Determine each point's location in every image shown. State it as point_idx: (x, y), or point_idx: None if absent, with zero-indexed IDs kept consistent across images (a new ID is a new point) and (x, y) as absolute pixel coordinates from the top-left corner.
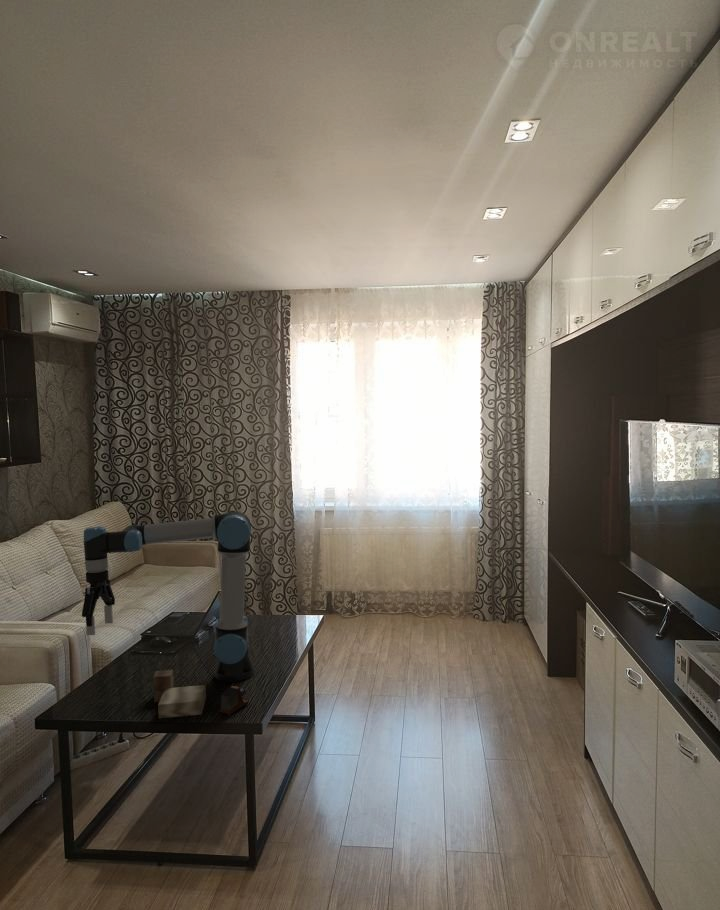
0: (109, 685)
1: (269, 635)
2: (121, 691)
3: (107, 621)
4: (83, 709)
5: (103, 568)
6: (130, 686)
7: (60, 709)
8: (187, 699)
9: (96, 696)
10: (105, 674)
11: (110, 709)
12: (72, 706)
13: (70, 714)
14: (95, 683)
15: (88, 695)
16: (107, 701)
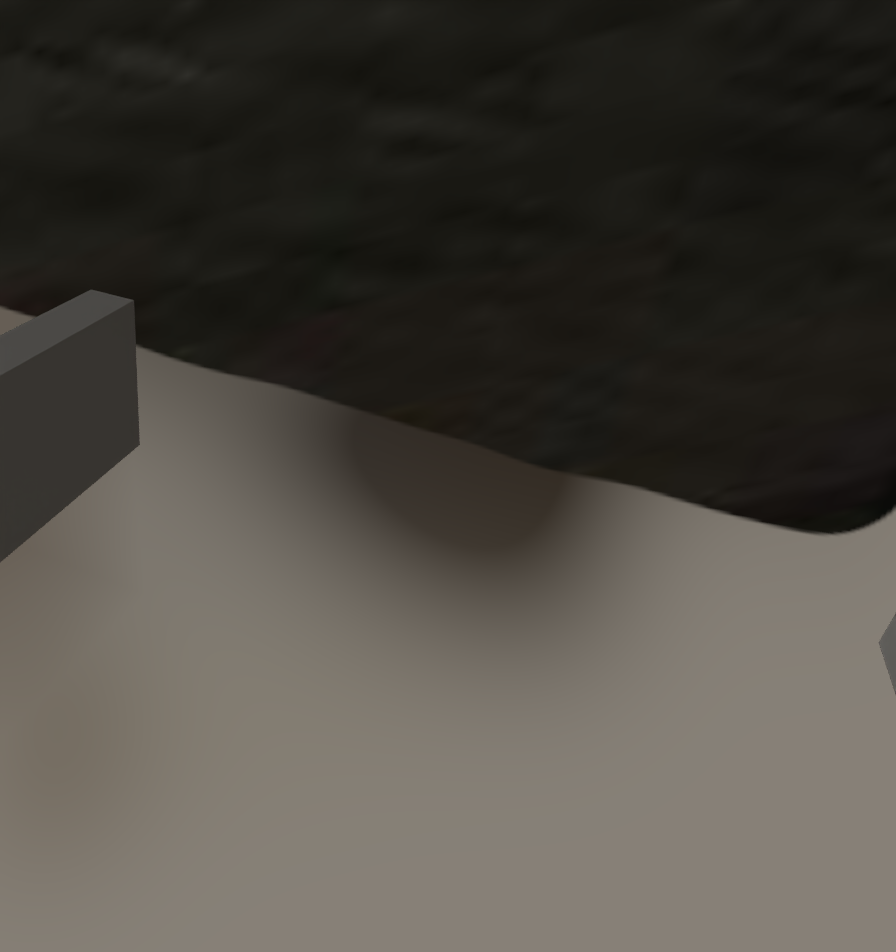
0: (308, 214)
1: None
2: (453, 66)
3: (113, 414)
4: (770, 303)
5: None
6: (349, 7)
7: (706, 466)
8: None
9: (519, 264)
10: None
11: (866, 55)
12: (676, 398)
13: (838, 378)
14: (260, 335)
15: (485, 332)
16: (656, 139)
